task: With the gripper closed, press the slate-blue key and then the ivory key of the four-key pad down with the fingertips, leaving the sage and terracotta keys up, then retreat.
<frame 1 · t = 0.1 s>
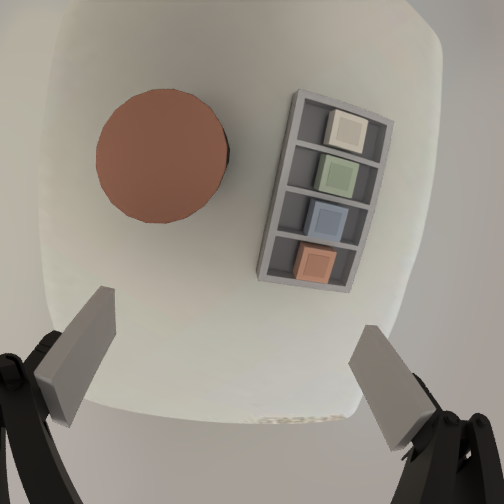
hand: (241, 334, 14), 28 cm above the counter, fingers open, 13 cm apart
key terracotta: (314, 262, 39), point 4 cm above the counter, slide at 0.0 cm
key ivory: (345, 131, 34), point 4 cm above the counter, slide at 0.0 cm
key sage: (336, 176, 35), point 4 cm above the counter, slide at 0.0 cm
coffee jar: (190, 153, 37), on the counter
key slate: (325, 220, 37), point 4 cm above the counter, slide at 0.0 cm
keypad: (322, 194, 40), on the counter
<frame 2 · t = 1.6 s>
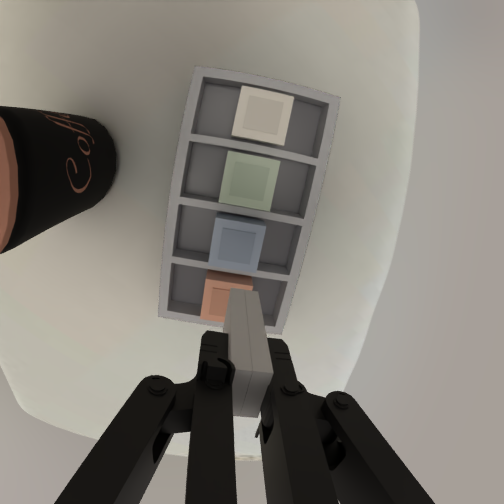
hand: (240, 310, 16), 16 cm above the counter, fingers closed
key terracotta: (225, 297, 30), point 4 cm above the counter, slide at 0.0 cm
key ivory: (261, 116, 24), point 4 cm above the counter, slide at 0.0 cm
key sage: (248, 180, 26), point 4 cm above the counter, slide at 0.0 cm
coffee jar: (80, 163, 28), on the counter
key slate: (236, 242, 28), point 4 cm above the counter, slide at 0.0 cm
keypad: (241, 204, 30), on the counter
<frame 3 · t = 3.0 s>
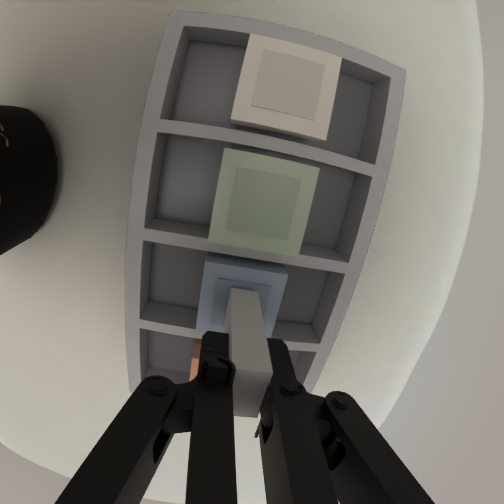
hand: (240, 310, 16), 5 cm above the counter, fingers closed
key terracotta: (224, 376, 19), point 4 cm above the counter, slide at 0.0 cm
key ivory: (284, 88, 13), point 4 cm above the counter, slide at 0.0 cm
key sage: (261, 200, 15), point 4 cm above the counter, slide at 0.0 cm
coffee jar: (16, 173, 17), on the counter
key slate: (239, 295, 18), point 3 cm above the counter, slide at 0.9 cm, touching gripper
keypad: (246, 234, 19), on the counter
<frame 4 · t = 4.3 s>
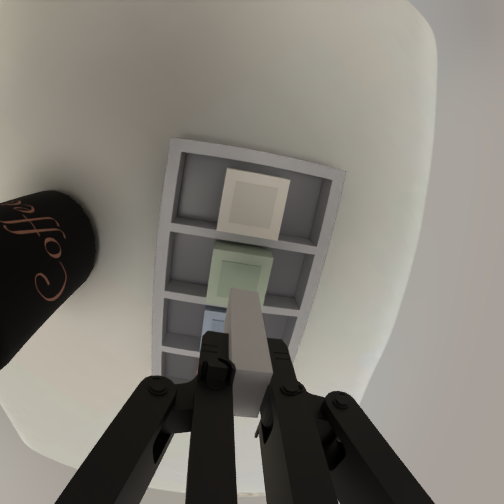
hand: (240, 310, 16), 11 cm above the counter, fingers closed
key terracotta: (218, 382, 27), point 4 cm above the counter, slide at 0.0 cm
key ivory: (252, 202, 22), point 4 cm above the counter, slide at 0.0 cm
key sage: (238, 275, 24), point 4 cm above the counter, slide at 0.0 cm
coffee jar: (59, 238, 26), on the counter
key slate: (227, 328, 27), point 3 cm above the counter, slide at 1.3 cm
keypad: (232, 288, 28), on the counter
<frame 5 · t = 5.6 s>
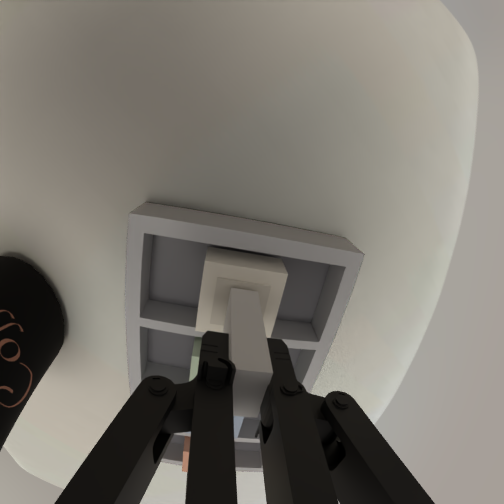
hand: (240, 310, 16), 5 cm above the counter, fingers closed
key terracotta: (207, 455, 23), point 4 cm above the counter, slide at 0.0 cm
key ivory: (238, 295, 18), point 3 cm above the counter, slide at 0.8 cm, touching gripper
key sage: (223, 374, 19), point 4 cm above the counter, slide at 0.0 cm
coffee jar: (26, 304, 21), on the counter
key slate: (214, 412, 22), point 3 cm above the counter, slide at 1.3 cm
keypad: (219, 368, 23), on the counter
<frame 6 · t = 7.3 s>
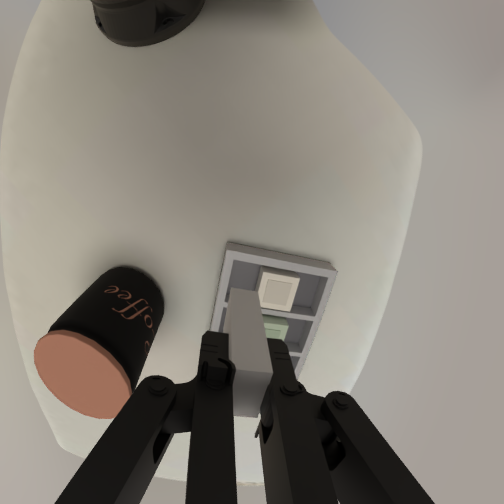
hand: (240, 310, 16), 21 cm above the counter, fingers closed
key ivory: (275, 288, 37), point 3 cm above the counter, slide at 1.3 cm
key sage: (265, 333, 37), point 4 cm above the counter, slide at 0.0 cm
coffee jar: (130, 298, 39), on the counter
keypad: (257, 336, 41), on the counter
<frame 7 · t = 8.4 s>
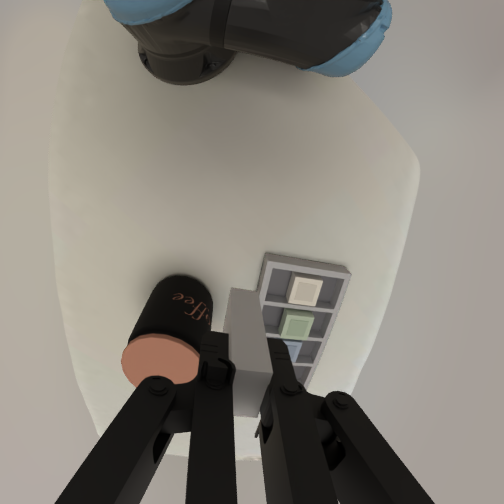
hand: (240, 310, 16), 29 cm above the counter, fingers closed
key ivory: (304, 288, 46), point 3 cm above the counter, slide at 1.3 cm
key sage: (295, 324, 47), point 4 cm above the counter, slide at 0.0 cm
coffee jar: (182, 300, 49), on the counter
key slate: (285, 348, 50), point 3 cm above the counter, slide at 1.3 cm
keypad: (287, 326, 51), on the counter
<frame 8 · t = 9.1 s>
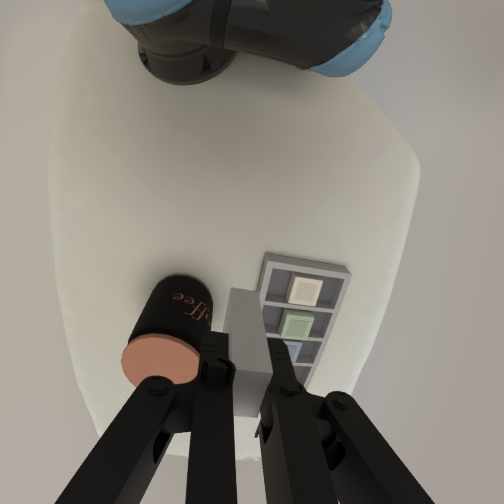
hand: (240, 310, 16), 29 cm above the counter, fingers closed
key ivory: (304, 288, 46), point 3 cm above the counter, slide at 1.3 cm
key sage: (295, 324, 47), point 4 cm above the counter, slide at 0.0 cm
coffee jar: (182, 300, 49), on the counter
key slate: (285, 348, 50), point 3 cm above the counter, slide at 1.3 cm
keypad: (287, 326, 51), on the counter
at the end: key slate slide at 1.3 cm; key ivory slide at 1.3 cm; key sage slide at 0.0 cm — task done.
